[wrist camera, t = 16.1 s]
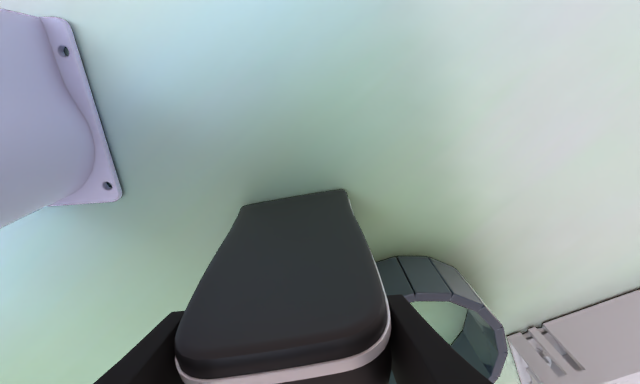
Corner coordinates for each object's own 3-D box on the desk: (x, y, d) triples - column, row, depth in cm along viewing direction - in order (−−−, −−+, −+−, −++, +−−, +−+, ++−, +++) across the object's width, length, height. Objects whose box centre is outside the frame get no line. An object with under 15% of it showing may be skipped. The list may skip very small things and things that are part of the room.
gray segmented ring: (295, 319, 22) (293, 365, 18) (417, 225, 20) (442, 258, 16) (407, 409, 26) (423, 462, 22) (519, 340, 23) (557, 387, 20)
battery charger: (252, 256, 20) (187, 463, 9) (237, 204, 18) (140, 374, 8) (356, 239, 20) (414, 428, 9) (349, 185, 18) (407, 332, 8)
